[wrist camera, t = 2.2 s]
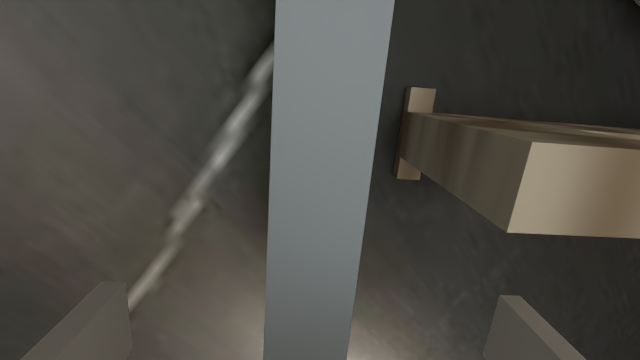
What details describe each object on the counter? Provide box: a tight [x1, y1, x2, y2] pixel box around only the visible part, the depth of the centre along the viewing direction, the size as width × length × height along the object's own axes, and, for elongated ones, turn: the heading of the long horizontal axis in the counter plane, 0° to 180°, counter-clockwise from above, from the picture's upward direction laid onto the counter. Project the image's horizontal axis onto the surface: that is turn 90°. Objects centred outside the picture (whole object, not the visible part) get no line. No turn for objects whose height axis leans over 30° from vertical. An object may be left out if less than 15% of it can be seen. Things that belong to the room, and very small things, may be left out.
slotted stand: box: [393, 87, 640, 238], centre depth 16 cm, size 20×6×12 cm, turn 85°
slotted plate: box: [263, 0, 395, 360], centre depth 15 cm, size 18×3×12 cm, turn 175°
